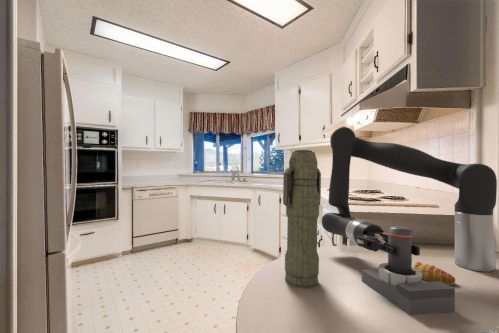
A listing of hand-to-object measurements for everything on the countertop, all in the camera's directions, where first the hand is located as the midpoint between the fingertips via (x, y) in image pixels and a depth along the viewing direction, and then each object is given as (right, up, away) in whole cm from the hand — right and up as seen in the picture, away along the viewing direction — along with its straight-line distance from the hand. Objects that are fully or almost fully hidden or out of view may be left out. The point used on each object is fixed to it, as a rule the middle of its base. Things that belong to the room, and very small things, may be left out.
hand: (408, 251), depth 58 cm
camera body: (-1, -11, +1) cm, 11 cm away
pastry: (+14, -12, +11) cm, 21 cm away
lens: (-1, -7, +2) cm, 7 cm away
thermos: (-24, -11, +8) cm, 27 cm away
